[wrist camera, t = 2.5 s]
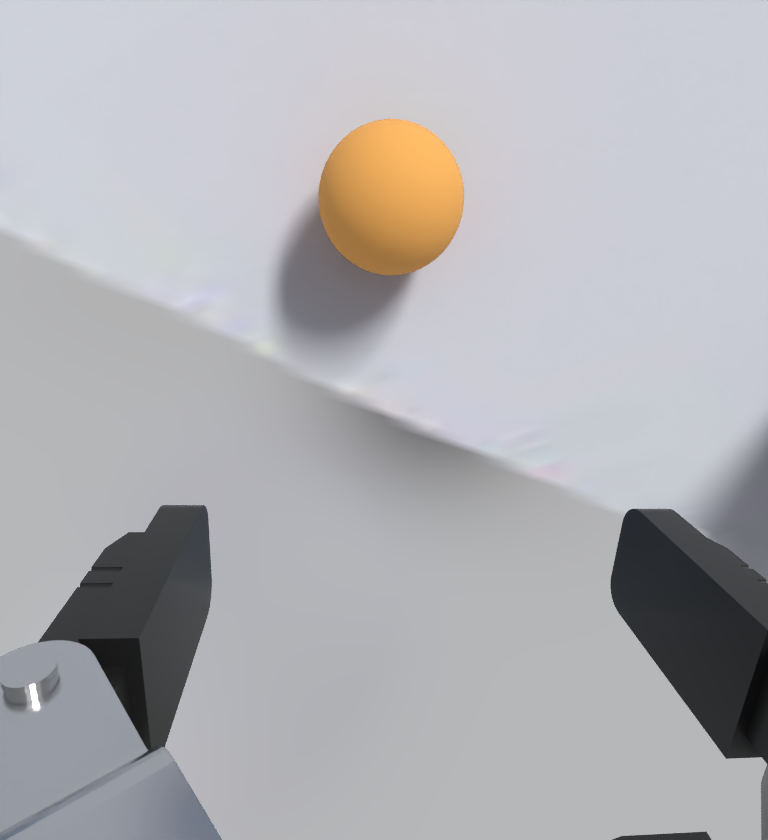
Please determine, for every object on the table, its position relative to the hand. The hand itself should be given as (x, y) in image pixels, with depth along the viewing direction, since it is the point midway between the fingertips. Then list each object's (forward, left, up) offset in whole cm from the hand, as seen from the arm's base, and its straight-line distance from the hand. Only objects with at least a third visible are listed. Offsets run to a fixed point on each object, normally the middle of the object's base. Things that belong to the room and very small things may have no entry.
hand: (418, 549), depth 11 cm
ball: (+3, -6, -16) cm, 17 cm away
